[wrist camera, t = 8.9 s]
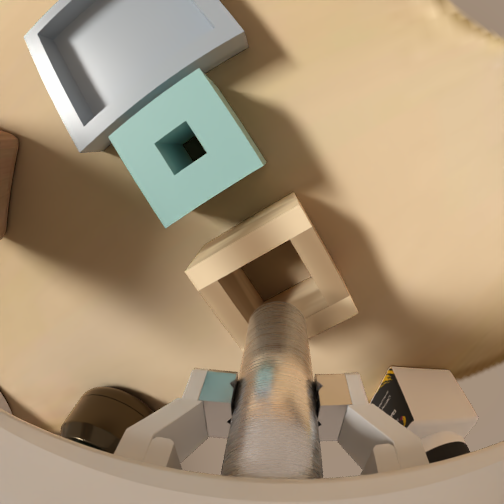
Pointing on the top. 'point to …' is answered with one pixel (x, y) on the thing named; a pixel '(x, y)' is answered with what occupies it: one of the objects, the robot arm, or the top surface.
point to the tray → (124, 57)
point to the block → (6, 174)
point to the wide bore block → (253, 246)
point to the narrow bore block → (174, 154)
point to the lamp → (103, 418)
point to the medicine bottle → (428, 408)
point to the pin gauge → (275, 401)
